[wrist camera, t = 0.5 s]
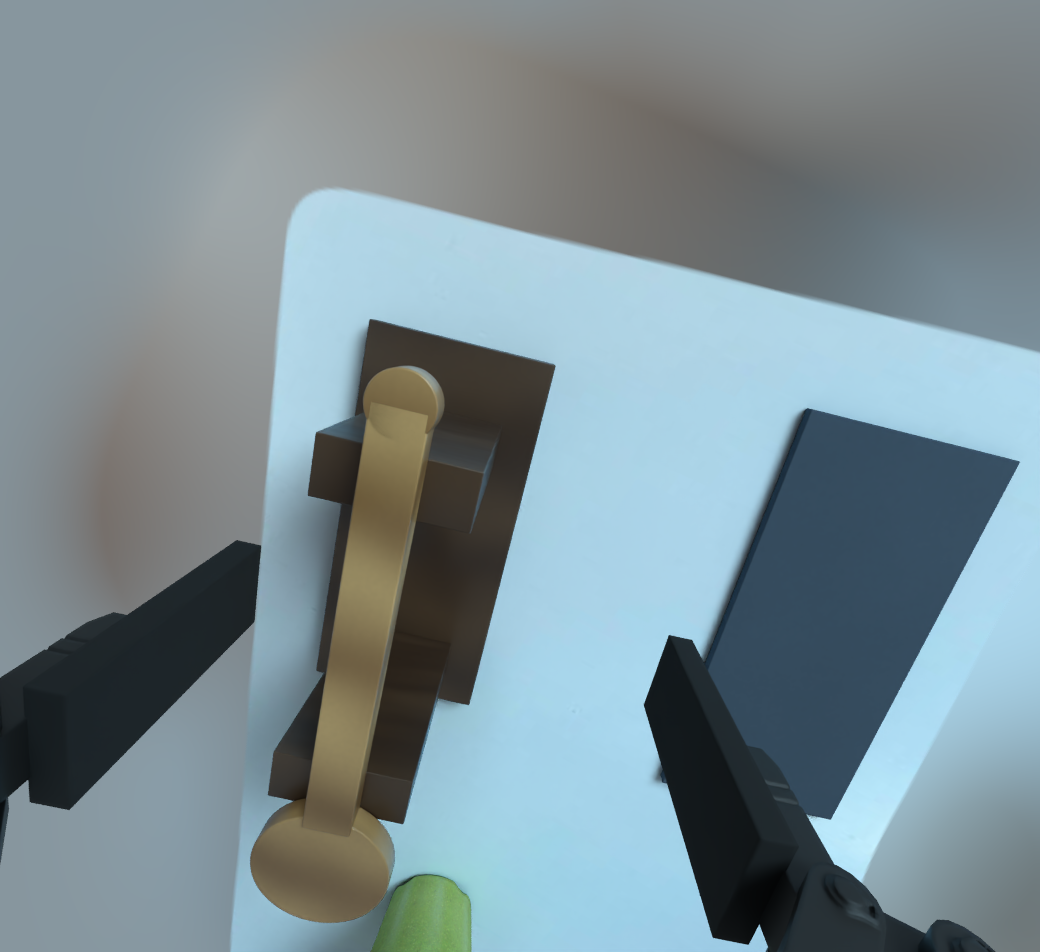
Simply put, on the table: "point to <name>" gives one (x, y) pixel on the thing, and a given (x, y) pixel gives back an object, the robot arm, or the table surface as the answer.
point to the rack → (428, 548)
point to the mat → (845, 592)
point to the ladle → (356, 671)
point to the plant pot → (426, 918)
